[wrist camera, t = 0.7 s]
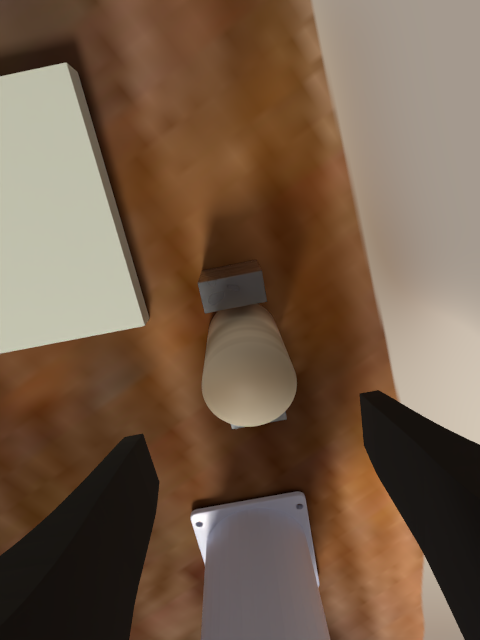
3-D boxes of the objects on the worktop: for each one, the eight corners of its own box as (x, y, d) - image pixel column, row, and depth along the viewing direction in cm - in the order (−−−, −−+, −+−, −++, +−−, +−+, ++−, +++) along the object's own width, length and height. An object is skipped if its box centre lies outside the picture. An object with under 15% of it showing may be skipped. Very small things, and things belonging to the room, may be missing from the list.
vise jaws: (278, 390, 22) (287, 419, 19) (231, 399, 22) (232, 429, 19) (256, 259, 19) (261, 270, 16) (201, 270, 19) (197, 283, 16)
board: (149, 318, 20) (144, 325, 19) (-22, 351, 20) (-36, 360, 19) (77, 71, 16) (66, 62, 15) (-134, 116, 16) (-161, 110, 15)
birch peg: (281, 358, 21) (302, 417, 15) (216, 370, 21) (212, 433, 15) (271, 294, 20) (290, 334, 14) (201, 308, 20) (191, 352, 14)
